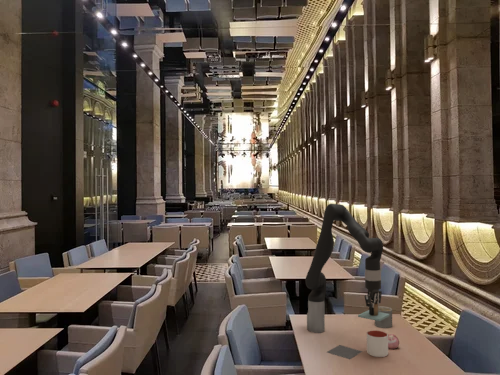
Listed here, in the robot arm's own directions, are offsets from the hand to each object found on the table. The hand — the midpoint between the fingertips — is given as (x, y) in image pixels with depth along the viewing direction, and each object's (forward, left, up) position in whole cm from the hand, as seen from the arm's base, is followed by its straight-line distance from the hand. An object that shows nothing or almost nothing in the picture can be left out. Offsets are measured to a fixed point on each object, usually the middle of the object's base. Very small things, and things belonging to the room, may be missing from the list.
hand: (373, 313), depth 200 cm
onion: (+3, +14, -20) cm, 25 cm away
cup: (+1, +1, -20) cm, 20 cm away
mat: (-12, -8, -20) cm, 24 cm away
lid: (0, 0, -1) cm, 1 cm away
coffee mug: (-16, +46, -20) cm, 53 cm away
